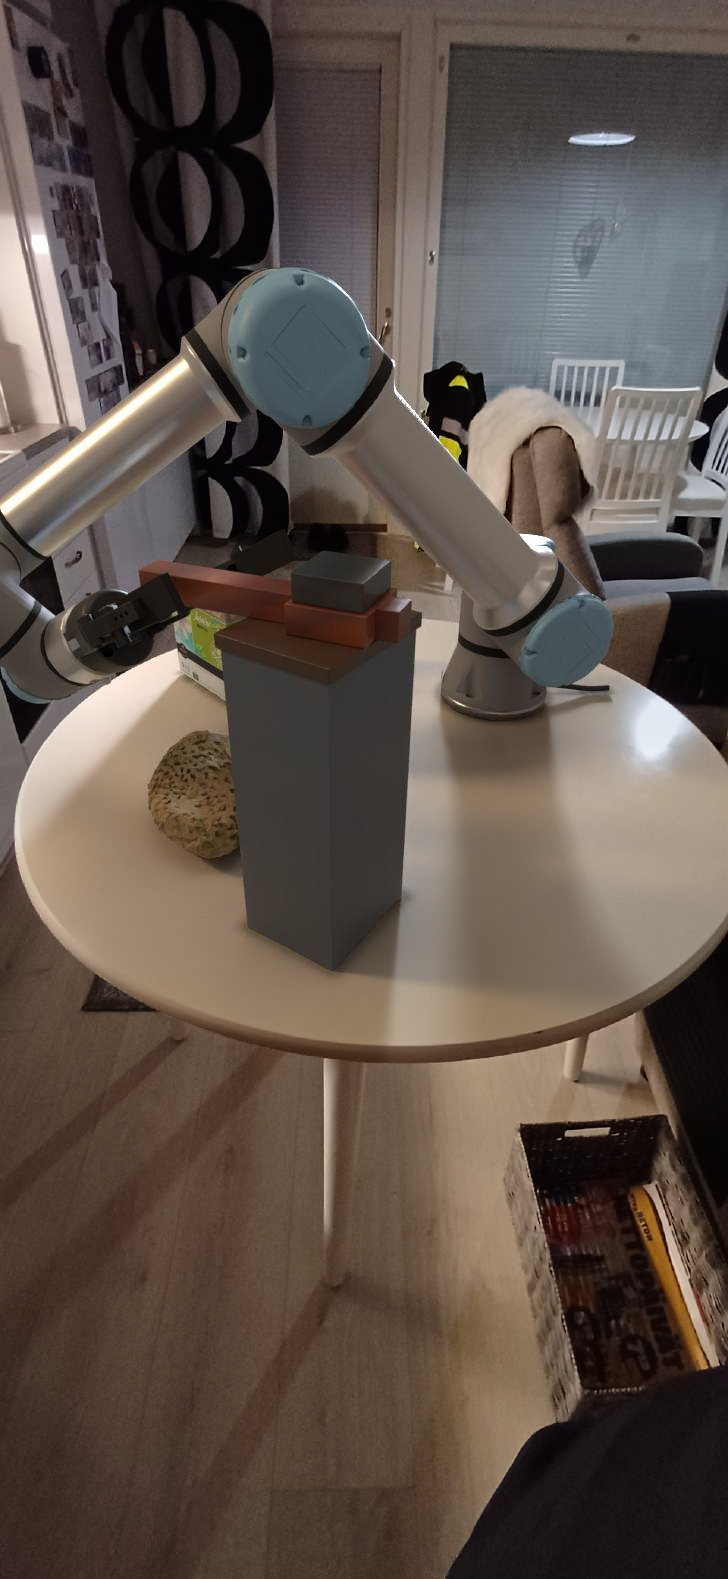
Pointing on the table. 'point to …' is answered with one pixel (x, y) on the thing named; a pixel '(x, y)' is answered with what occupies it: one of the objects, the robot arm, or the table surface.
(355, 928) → the pedestal
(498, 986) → the table surface
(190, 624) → the tea box
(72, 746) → the table surface
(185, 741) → the sponge
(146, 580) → the brush
